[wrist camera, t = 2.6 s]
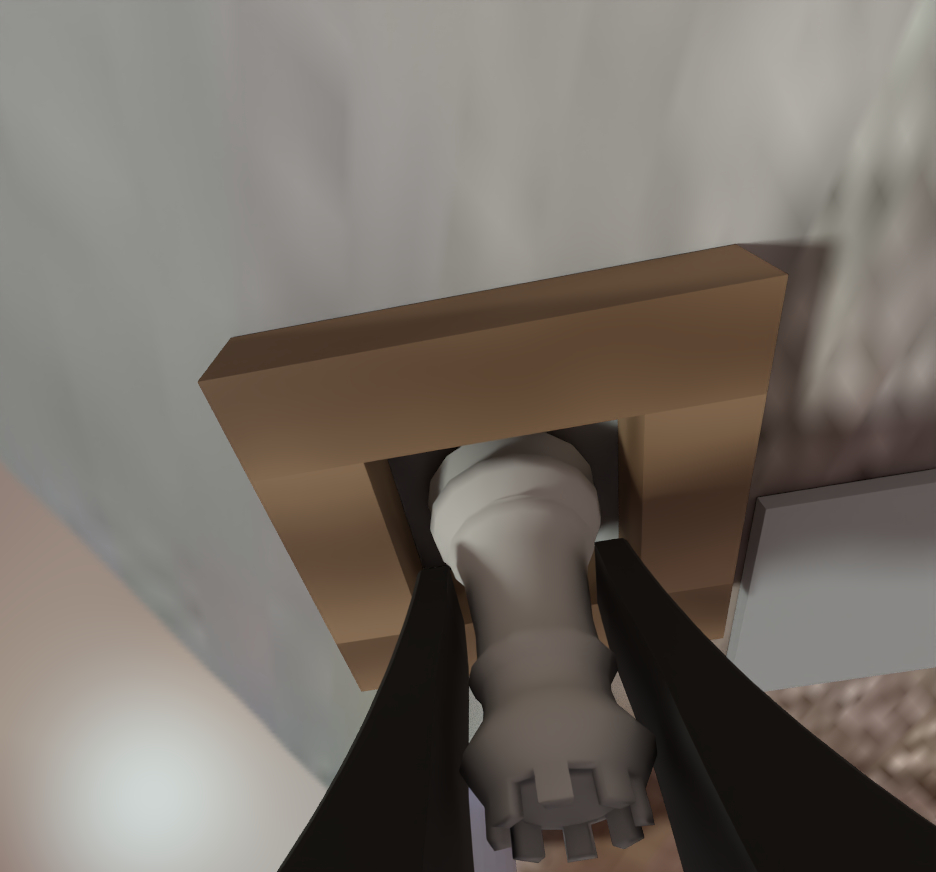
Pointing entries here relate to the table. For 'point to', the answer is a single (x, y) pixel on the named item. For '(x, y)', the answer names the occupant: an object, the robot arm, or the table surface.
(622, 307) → the square wooden frame
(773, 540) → the slate mat
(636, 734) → the rook chess piece
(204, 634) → the table surface
